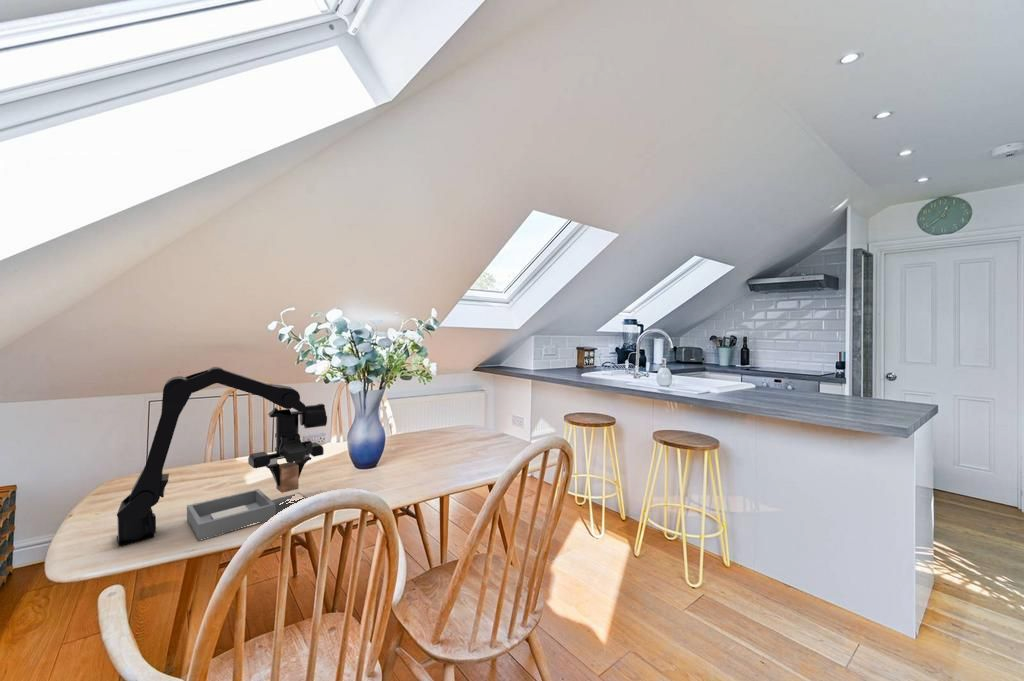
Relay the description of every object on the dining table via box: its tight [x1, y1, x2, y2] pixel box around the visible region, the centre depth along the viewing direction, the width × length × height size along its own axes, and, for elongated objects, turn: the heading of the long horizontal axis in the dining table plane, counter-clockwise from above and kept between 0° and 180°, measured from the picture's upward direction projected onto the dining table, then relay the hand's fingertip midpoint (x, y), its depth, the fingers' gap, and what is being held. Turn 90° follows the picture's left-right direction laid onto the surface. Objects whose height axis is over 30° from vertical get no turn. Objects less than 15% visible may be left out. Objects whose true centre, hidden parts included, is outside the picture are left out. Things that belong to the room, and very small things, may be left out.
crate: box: [186, 488, 277, 541], centre depth 114 cm, size 17×15×4 cm
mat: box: [270, 492, 305, 514], centre depth 124 cm, size 10×10×1 cm
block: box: [275, 461, 300, 494], centre depth 124 cm, size 4×4×7 cm
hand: (287, 483), depth 124 cm, fingers closed on block, 4 cm apart
